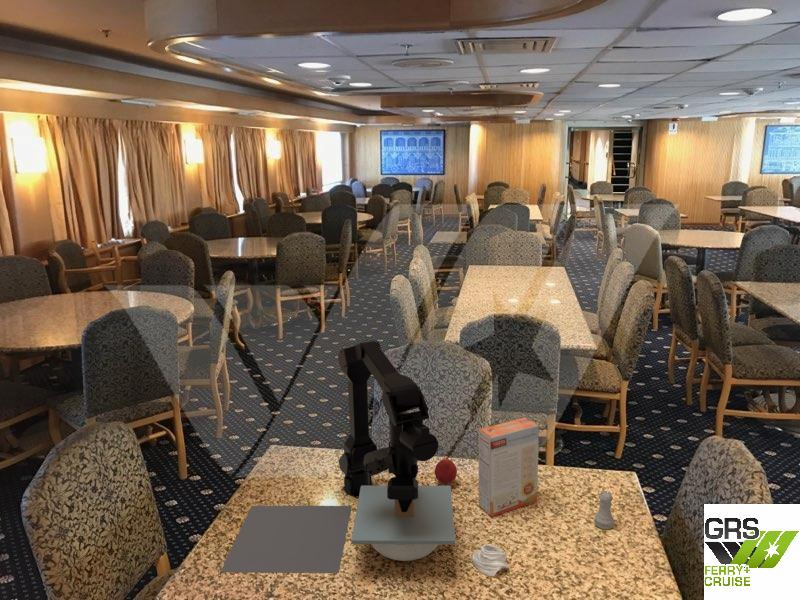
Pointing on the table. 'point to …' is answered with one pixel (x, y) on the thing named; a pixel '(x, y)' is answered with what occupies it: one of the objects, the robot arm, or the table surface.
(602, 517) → the grey chess piece
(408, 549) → the cereal bowl
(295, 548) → the mat
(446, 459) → the onion
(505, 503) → the cracker box
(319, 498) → the table surface
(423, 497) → the lid
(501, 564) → the whipped cream
